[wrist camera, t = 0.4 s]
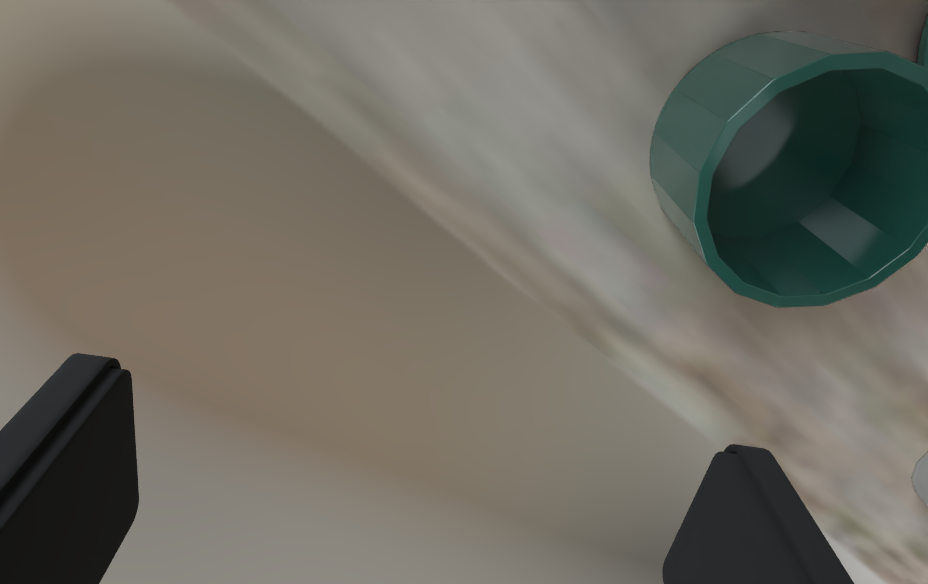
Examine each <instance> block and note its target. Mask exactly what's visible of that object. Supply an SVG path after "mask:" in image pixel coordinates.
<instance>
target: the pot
mask: <svg viewBox="0 0 928 584" xmlns="http://www.w3.org/2000/svg"><path fill="white" fill-rule="evenodd" d="M650 173H651V179H652V183H653V187H654V190H655V193H656V195H657V197H658V200H659V202H660V204H661V207H662V210H663V211H664V212H665V214H666V215H667V216H668V217H669V219H670V220H671V221H672V222H673V224H674V225H675V226H676V227H677V229H678V230H679V231H680V232H681V234H682V235H683V236H684V237H685V239H686V240H687V241H688V242H689V244H690V245H691V246H692V247H693V249H694V250H695V251H696V252H697V254H698V255H699V256H700V257H701V259H702V260H703V261H704V262H705V263H706V265H707V266H708V267H709V268H710V269H711V270H712V271H713V272H714V273H715V274H716V275H717V276H718V277H719V278H720V279H721V280H722V281H723V282H724V283H725V284H726V285H727V286H728V287H729V288H730V289H731V290H732V291H733V292H734V293H736V294H739V295H742V296H745V297H748V298H751V299H754V300H756V301H759V302H762V303H765V304H768V305H771V306H774V307H778V308H781V307H805V306H824V305H828V304H831V303H833V302H836V301H839V300H841V299H844V298H847V297H850V296H852V295H855V294H858V293H860V292H863V291H866V290H868V289H871V288H873V287H876V286H877V285H878V284H880V283H881V282H882V281H884V280H885V279H887V278H888V277H889V276H891V275H892V274H893V273H895V272H896V271H897V270H899V269H900V268H901V267H903V266H904V265H905V264H907V263H908V262H909V261H911V260H912V259H914V258H915V257H916V256H918V254H919V253H920V252H921V251H922V249H923V248H924V247H925V245H926V244H927V243H928V69H927V68H925V67H923V66H921V65H918V64H916V63H914V62H912V61H909V60H907V59H905V58H902V57H900V56H898V55H896V54H893V53H891V52H888V51H884V50H880V49H876V48H871V47H867V46H863V45H859V44H855V43H850V42H846V41H842V40H838V39H834V38H829V37H825V36H821V35H817V34H813V33H808V32H804V31H798V32H782V31H776V32H767V33H758V34H755V35H752V36H748V37H745V38H742V39H740V40H737V41H734V42H732V43H730V44H728V45H726V46H724V47H722V48H720V49H718V50H717V51H715V52H714V53H712V54H711V55H709V56H708V57H706V58H705V59H703V60H702V61H701V62H700V63H699V64H698V65H696V66H695V67H694V68H693V69H692V70H691V71H690V72H689V73H688V74H687V75H686V76H685V77H684V78H683V79H682V80H681V82H680V83H679V84H678V85H677V87H676V88H675V89H674V91H673V92H672V94H671V95H670V97H669V98H668V100H667V102H666V103H665V105H664V107H663V109H662V111H661V113H660V116H659V118H658V120H657V123H656V126H655V129H654V133H653V136H652V142H651V148H650Z"/></svg>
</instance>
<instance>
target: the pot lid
mask: <svg viewBox="0 0 928 584" xmlns="http://www.w3.org/2000/svg"><path fill="white" fill-rule="evenodd" d="M917 64H918V65H921V66H923V67H925V68H927V69H928V16H927V19H926V22H925V25H924V28H923V31H922V35H921V40H920V45H919V49H918V60H917Z"/></svg>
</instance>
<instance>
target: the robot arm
mask: <svg viewBox="0 0 928 584" xmlns="http://www.w3.org/2000/svg"><path fill="white" fill-rule="evenodd" d="M135 444H136V443H135V426H134V410H133V393H132V378H131V373H130V372H129V371H128V370H124V369H121V367H120V363H119V362H118V360H117V359H115V358H109V357H102V356H94V355H87V354H80V353H77V354H73V355H72V356H70V357H69V358H68V359H67V360H66V361H65V362H64V363H63V364H62V365H61V366H60V368H59V369H58V370H57V371H56V372H55V373H54V374H53V375H52V376H51V377H50V378H49V379H48V380H47V381H46V382H45V384H44V385H43V386H42V387H41V388H40V389H39V390H38V391H37V392H36V393H35V394H34V396H32V397H31V399H30V400H29V401H28V402H27V403H26V404H25V405H24V406H23V407H22V408H21V409H20V410H19V411H18V412H17V414H16V415H15V416H14V417H13V418H12V419H11V420H10V421H9V422H8V423H7V424H6V425H5V426H4V427H3V429H2V430H1V431H0V584H99V583H100V581H101V579H102V577H103V575H104V574H105V572H106V570H107V568H108V566H109V565H110V563H111V561H112V559H113V558H114V556H115V554H116V552H117V550H118V548H119V547H120V545H121V543H122V541H123V540H124V538H125V535H126V534H127V532H128V531H129V529H130V527H131V525H132V523H133V521H134V519H135V516H136V512H137V508H138V503H139V493H138V476H137V459H136V445H135ZM663 582H664V584H854V583H853V581H852V579H851V578H850V576H849V575H848V573H847V572H846V570H845V568H844V567H843V565H842V564H841V562H840V560H839V559H838V557H837V556H836V554H835V553H834V551H833V549H832V548H831V546H830V545H829V543H828V541H827V540H826V538H825V537H824V535H823V534H822V532H821V530H820V529H819V527H818V526H817V524H816V523H815V521H814V519H813V518H812V516H811V515H810V513H809V511H808V510H807V508H806V507H805V505H804V504H803V502H802V500H801V499H800V497H799V496H798V494H797V493H796V491H795V489H794V488H793V486H792V485H791V483H790V481H789V480H788V478H787V477H786V475H785V474H784V472H783V470H782V469H781V467H780V466H779V464H778V463H777V461H776V459H775V458H774V456H773V455H772V454H771V452H770V451H769V450H766V449H764V448H757V447H749V446H742V445H735V444H733V445H729V446H728V447H727V448H726V449H725V450H724V452H718V453H717V454H715V456H714V457H713V459H712V461H711V464H710V466H709V468H708V470H707V472H706V474H705V476H704V478H703V481H702V483H701V485H700V487H699V489H698V491H697V493H696V495H695V497H694V499H693V502H692V504H691V506H690V508H689V511H688V512H687V514H686V517H685V518H684V521H683V523H682V525H681V527H680V529H679V531H678V533H677V535H676V538H675V540H674V542H673V544H672V546H671V548H670V550H669V552H668V554H667V557H666V559H665V561H664V565H663Z"/></svg>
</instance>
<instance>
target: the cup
mask: <svg viewBox="0 0 928 584" xmlns="http://www.w3.org/2000/svg"><path fill="white" fill-rule="evenodd" d="M911 479H912V483H913V486H914V490H915V492H916V493H917V495H918V496H919V497H920V498H921V499H922V501H923V502H924V503H925V504H926V505H927V506H928V452H927V453H926V454H925V455H924V456H923V457H922V458H921V459H920V460H919V461H918V462H917V465H916V467H915V470H914V472H913V475H912V478H911Z"/></svg>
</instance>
